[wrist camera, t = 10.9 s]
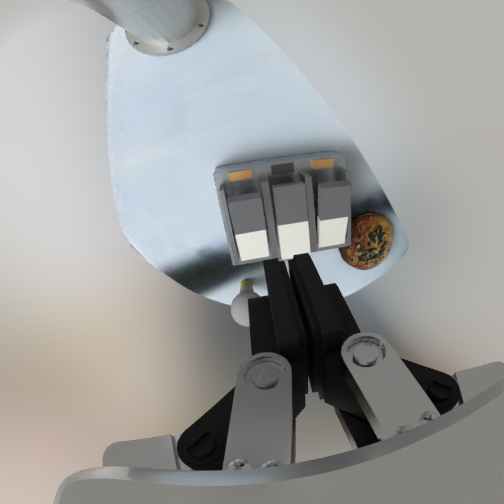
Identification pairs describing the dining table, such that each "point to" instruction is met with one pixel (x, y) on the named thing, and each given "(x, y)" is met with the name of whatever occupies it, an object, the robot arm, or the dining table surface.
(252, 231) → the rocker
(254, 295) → the light bulb
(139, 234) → the dining table surface
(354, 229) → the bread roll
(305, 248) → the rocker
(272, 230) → the switch box
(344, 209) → the rocker
